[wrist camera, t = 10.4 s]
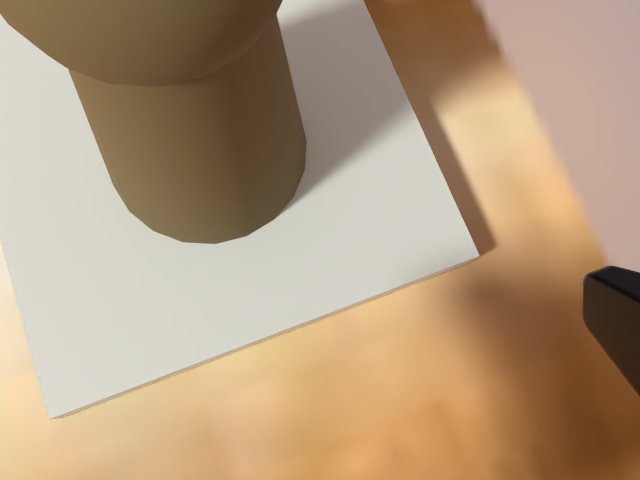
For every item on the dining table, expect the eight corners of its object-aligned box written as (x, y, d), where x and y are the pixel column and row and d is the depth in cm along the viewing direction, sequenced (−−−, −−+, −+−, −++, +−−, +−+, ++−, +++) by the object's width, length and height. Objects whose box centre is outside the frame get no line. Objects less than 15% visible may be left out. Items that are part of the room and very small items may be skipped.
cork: (296, 53, 20) (310, -355, 9) (317, 233, 18) (364, 3, 7) (104, 67, 19) (-124, -349, 8) (110, 254, 18) (-156, 38, 7)
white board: (469, 262, 19) (479, 255, 18) (62, 418, 17) (48, 419, 16) (274, -173, 23) (273, -198, 22) (-77, -84, 21) (-94, -106, 20)
